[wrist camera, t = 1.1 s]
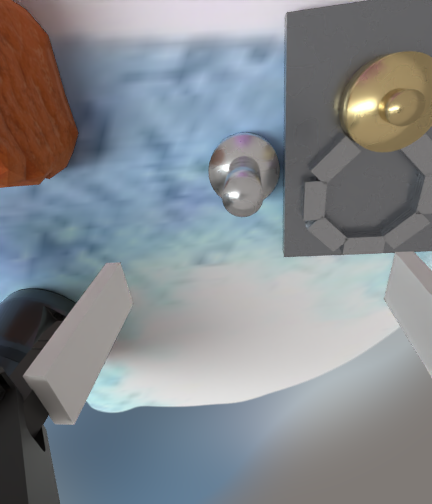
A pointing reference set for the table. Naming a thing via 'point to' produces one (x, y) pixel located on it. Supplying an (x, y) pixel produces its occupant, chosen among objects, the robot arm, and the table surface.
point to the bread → (31, 103)
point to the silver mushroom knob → (244, 172)
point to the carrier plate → (340, 145)
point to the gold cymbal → (388, 101)
